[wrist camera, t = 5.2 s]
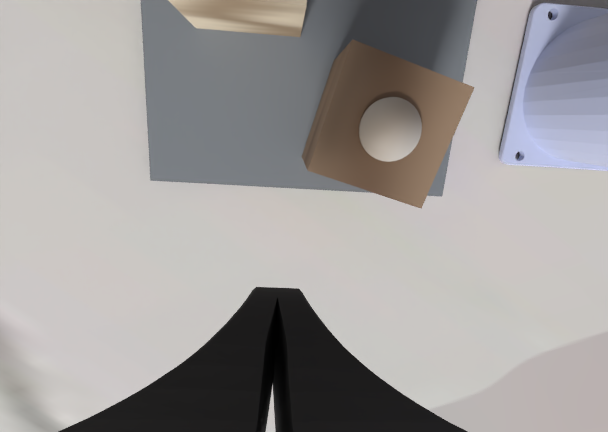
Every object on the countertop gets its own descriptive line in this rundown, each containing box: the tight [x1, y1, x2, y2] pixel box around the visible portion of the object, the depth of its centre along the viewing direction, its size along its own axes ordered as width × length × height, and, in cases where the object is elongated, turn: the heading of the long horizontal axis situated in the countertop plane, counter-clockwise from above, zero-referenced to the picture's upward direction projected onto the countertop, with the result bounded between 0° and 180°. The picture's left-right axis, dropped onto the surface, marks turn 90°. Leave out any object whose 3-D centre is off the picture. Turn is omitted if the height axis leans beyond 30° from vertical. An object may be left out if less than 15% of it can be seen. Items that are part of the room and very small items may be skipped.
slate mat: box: [141, 0, 477, 196], centre depth 17 cm, size 16×17×1 cm
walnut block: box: [302, 40, 474, 208], centre depth 16 cm, size 5×5×5 cm
